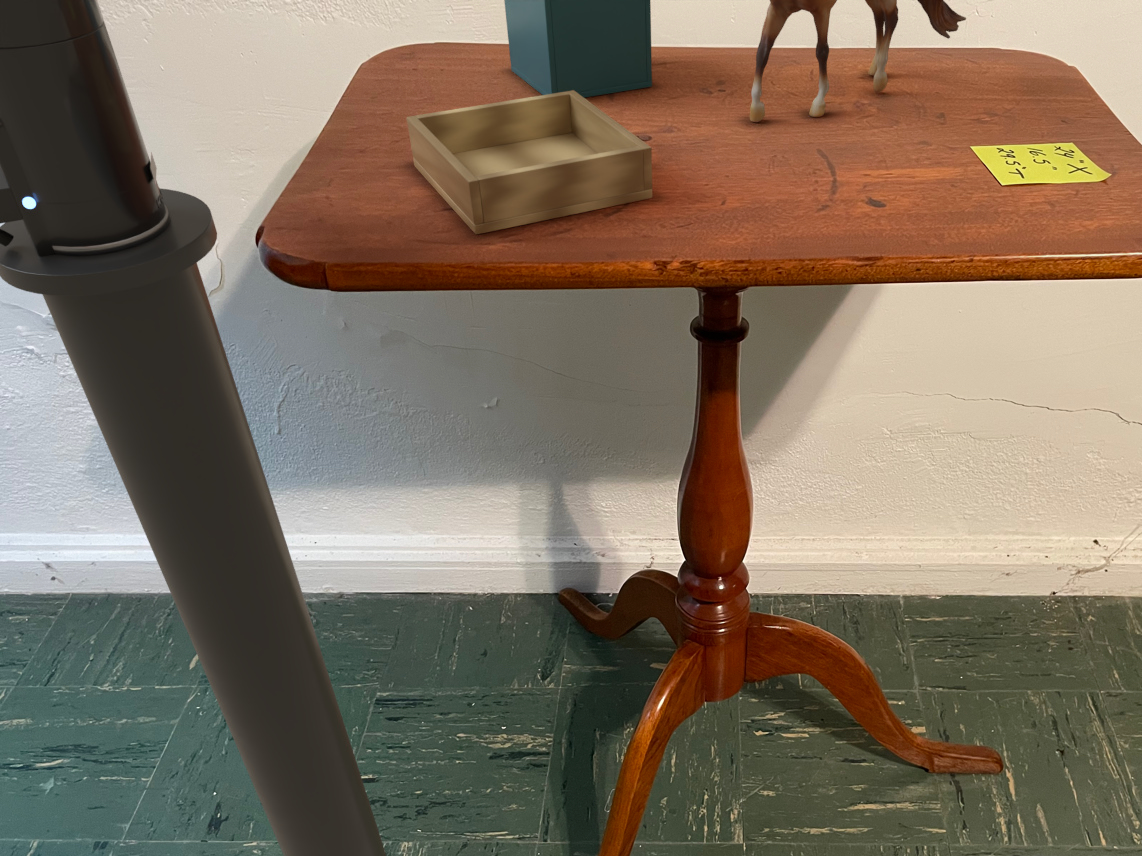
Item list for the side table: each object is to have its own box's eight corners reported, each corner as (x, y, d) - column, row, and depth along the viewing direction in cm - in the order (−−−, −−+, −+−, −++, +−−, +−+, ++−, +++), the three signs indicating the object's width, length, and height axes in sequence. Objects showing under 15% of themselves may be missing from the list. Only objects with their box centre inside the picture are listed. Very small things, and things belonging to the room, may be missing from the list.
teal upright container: (552, 103, 107) (543, -13, 101) (511, 70, 115) (500, -40, 108) (652, 86, 112) (650, -26, 105) (606, 56, 119) (601, -50, 112)
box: (475, 235, 84) (468, 181, 82) (414, 166, 95) (405, 116, 92) (652, 198, 90) (651, 147, 88) (577, 137, 101) (573, 89, 98)
